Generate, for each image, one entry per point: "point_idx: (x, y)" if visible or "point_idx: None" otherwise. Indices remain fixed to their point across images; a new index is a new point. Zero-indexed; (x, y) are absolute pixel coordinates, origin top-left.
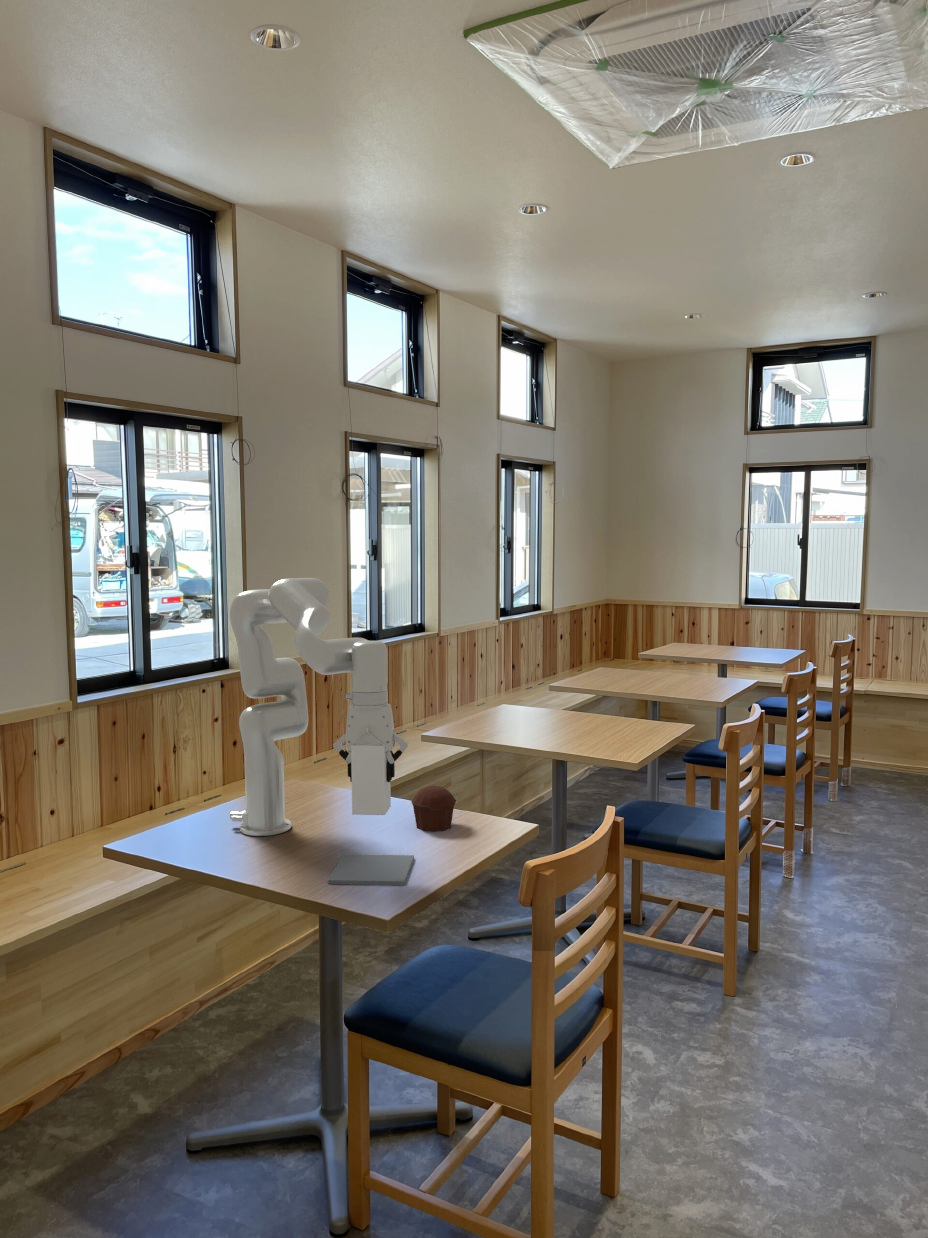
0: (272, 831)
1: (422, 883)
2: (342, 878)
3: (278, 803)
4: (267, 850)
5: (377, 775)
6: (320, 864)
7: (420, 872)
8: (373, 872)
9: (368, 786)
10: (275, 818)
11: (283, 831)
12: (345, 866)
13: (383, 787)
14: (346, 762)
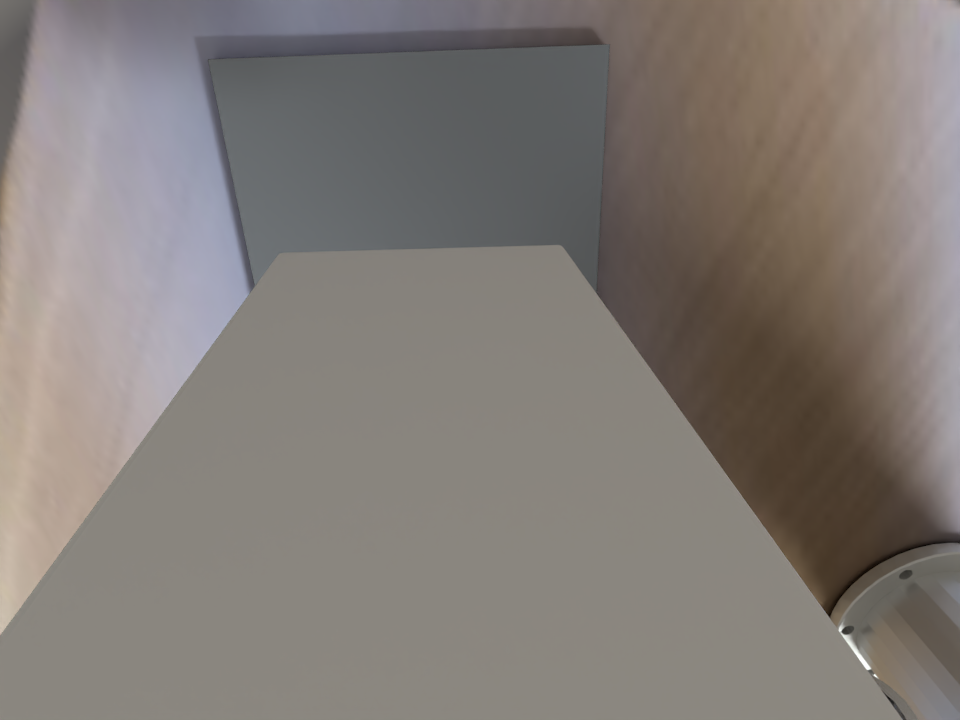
0: (899, 567)
1: (132, 100)
2: (540, 76)
3: (946, 686)
4: (904, 422)
5: (250, 447)
6: (675, 298)
7: (198, 249)
8: (405, 178)
9: (415, 356)
10: (916, 624)
11: (853, 587)
12: (557, 243)
13: (211, 361)
14: (872, 675)
